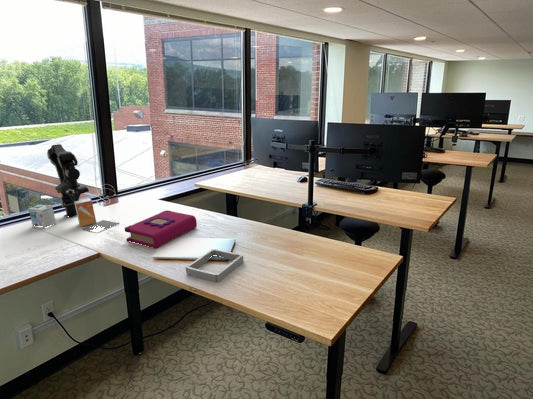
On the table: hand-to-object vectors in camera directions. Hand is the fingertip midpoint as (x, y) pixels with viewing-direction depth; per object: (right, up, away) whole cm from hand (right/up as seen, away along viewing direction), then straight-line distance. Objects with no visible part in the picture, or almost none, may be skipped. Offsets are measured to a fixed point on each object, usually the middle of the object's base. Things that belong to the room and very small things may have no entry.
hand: (76, 204), depth 209 cm
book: (+52, -15, -18) cm, 57 cm away
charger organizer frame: (+83, -25, -55) cm, 102 cm away
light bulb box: (-18, -12, +1) cm, 21 cm away
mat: (+15, -12, -4) cm, 20 cm away
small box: (+6, -11, 0) cm, 13 cm away
